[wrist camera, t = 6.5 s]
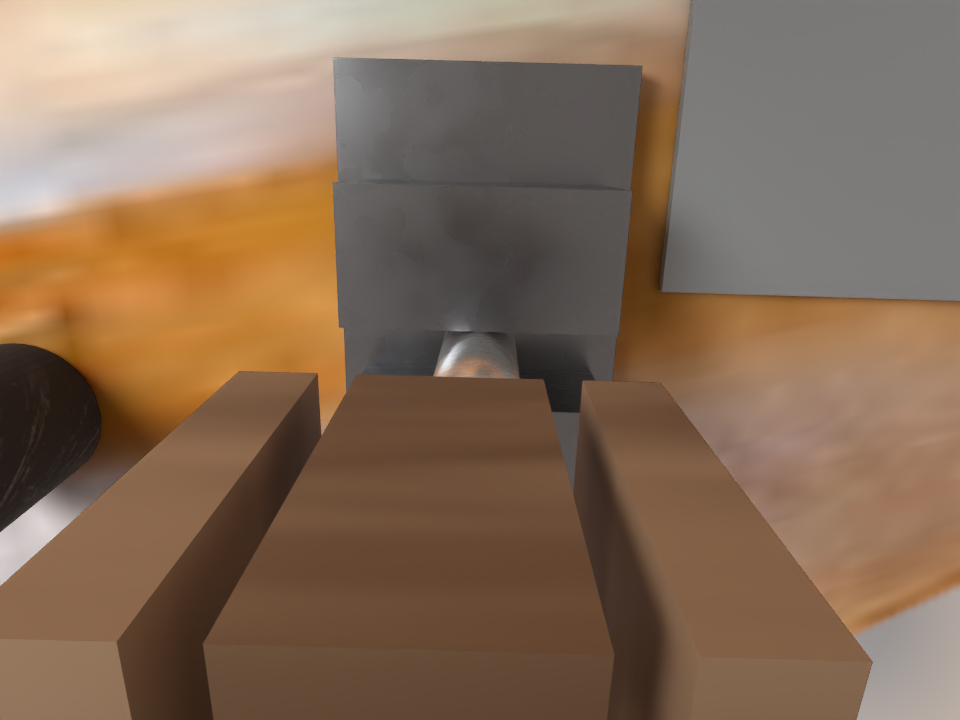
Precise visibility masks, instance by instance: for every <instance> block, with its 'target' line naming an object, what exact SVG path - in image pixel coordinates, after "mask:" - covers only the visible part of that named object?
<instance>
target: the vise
mask: <svg viewBox="0 0 960 720" xmlns="http://www.w3.org/2000/svg"><path fill="white" fill-rule="evenodd" d="M333 65H334V90H335V115H336V140H337V165H338V182H333V198H334V221H335V245H336V269H337V292H338V316H339V327H341V328H344V341H345V366H346V391H347V390H348V389H349V387H350V385H351V383H352V382H353V380H354V378H355V376H356V375H357V374H363V375H400V376H436V377H473V378H510V379H543V380H544V383H545V387H546V391H547V395H548V399H549V403H550V407H551V411H552V415H553V418H554V422H555V426H556V430H557V434H558V438H559V442H560V446H561V450H562V453H563V457H564V461H565V465H566V469H567V473H568V477H569V481H570V485H571V488H572V492H573V489H574V477H575V465H576V453H577V441H578V429H579V417H580V405H581V393H582V381H612V379H613V369H614V358H615V348H616V337H617V336H619V326H620V316H621V305H622V295H623V285H624V274H625V264H626V254H627V243H628V233H629V222H630V212H631V202H632V191H631V181H632V170H633V160H634V149H635V139H636V128H637V118H638V108H639V97H640V87H641V76H642V66H633V65H595V64H557V63H520V62H482V61H444V60H406V59H369V58H333Z"/></svg>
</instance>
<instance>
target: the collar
mask: <svg viewBox="0 0 960 720" xmlns="http://www.w3.org/2000/svg"><path fill="white" fill-rule="evenodd" d="M872 663H873V662H872V660H871V659H870V658H869V656H868V655H867V654H866V653H865V651H864V650H863V648H862V647H861V646H860V644H859V643H858V642H857V640H856V639H855V638H854V637H853V635H852V634H851V633H850V631H849V630H848V629H847V627H846V626H845V625H844V623H843V622H842V621H841V619H840V618H839V617H838V615H837V614H836V613H835V612H834V610H833V609H832V608H831V606H830V605H829V604H828V602H827V601H826V600H825V598H824V597H823V596H822V594H821V593H820V592H819V590H818V589H817V588H816V586H815V585H814V584H813V583H812V581H811V580H810V579H809V577H808V576H807V575H806V573H805V572H804V571H803V569H802V568H801V567H800V565H799V564H798V563H797V561H796V560H795V559H794V557H793V556H792V555H791V554H790V552H789V551H788V550H787V548H786V547H785V546H784V544H783V543H782V542H781V540H780V539H779V538H778V536H777V535H776V534H775V532H774V531H773V530H772V528H771V527H770V526H769V525H768V523H767V522H766V521H765V519H764V518H763V517H762V515H761V514H760V513H759V511H758V510H757V509H756V507H755V506H754V505H753V503H752V502H751V501H750V499H749V498H748V497H747V496H746V494H745V493H744V492H743V490H742V489H741V488H740V486H739V485H738V484H737V482H736V481H735V480H734V478H733V477H732V476H731V474H730V473H729V472H728V470H727V469H726V468H725V467H724V465H723V464H722V463H721V461H720V460H719V459H718V457H717V456H716V455H715V453H714V452H713V451H712V449H711V448H710V447H709V445H708V444H707V443H706V441H705V440H704V439H703V438H702V436H701V435H700V434H699V432H698V431H697V430H696V428H695V427H694V426H693V424H692V423H691V422H690V420H689V419H688V418H687V416H686V415H685V414H684V413H683V411H682V410H681V409H680V407H679V406H678V405H677V403H676V402H675V401H674V399H673V398H672V397H671V395H670V394H669V393H668V391H667V390H666V389H665V387H664V386H663V385H662V384H661V383H657V382H620V381H582V393H581V405H580V417H579V429H578V441H577V453H576V465H575V477H574V489H573V492H572V488H571V485H570V481H569V477H568V473H567V469H566V465H565V461H564V457H563V453H562V450H561V446H560V442H559V438H558V434H557V430H556V426H555V422H554V418H553V415H552V411H551V407H550V403H549V399H548V395H547V391H546V387H545V383H544V380H543V379H510V378H473V377H436V376H400V375H363V374H357V375H356V376H355V378H354V380H353V382H352V383H351V385H350V387H349V389H348V390H347V392H346V394H345V396H344V397H343V399H342V401H341V403H340V404H339V406H338V408H337V410H336V412H335V413H334V415H333V417H332V419H331V420H330V422H329V424H328V426H327V427H326V429H325V431H324V433H323V434H322V436H321V424H320V407H319V390H318V373H289V372H253V371H239V372H238V373H236V374H235V375H234V376H233V377H232V378H231V379H230V380H229V381H228V382H226V383H225V384H224V385H223V386H222V387H221V388H220V389H219V390H218V391H216V392H215V393H214V394H213V395H212V396H211V397H210V398H209V399H208V400H206V401H205V402H204V403H203V404H202V405H201V406H200V407H199V408H198V409H196V410H195V411H194V412H193V413H192V414H191V415H190V416H189V417H188V418H187V419H185V420H184V421H183V422H182V423H181V424H180V425H179V426H178V427H177V428H175V429H174V430H173V431H172V432H171V433H170V434H169V435H168V436H167V437H165V438H164V439H163V440H162V441H161V442H160V443H159V444H158V445H157V446H155V447H154V448H153V449H152V450H151V451H150V452H149V453H148V454H147V455H145V456H144V457H143V458H142V459H141V460H140V461H139V462H138V463H137V464H135V465H134V466H133V467H132V468H131V469H130V470H129V471H128V472H127V473H125V474H124V475H123V476H122V477H121V478H120V479H119V480H118V481H117V482H115V483H114V484H113V485H112V486H111V487H110V488H109V489H108V490H107V491H105V492H104V493H103V494H102V495H101V496H100V497H99V498H98V499H97V500H95V501H94V502H93V503H92V504H91V505H90V506H89V507H88V508H87V509H85V510H84V511H83V512H82V513H81V514H80V515H79V516H78V517H77V518H75V519H74V520H73V521H72V522H71V523H70V524H69V525H68V526H67V527H65V528H64V529H63V530H62V531H61V532H60V533H59V534H58V535H57V536H55V537H54V538H53V539H52V540H51V541H50V542H49V543H48V544H47V545H45V546H44V547H43V548H42V549H41V550H40V551H39V552H38V553H37V554H35V555H34V556H33V557H32V558H31V559H30V560H29V561H28V562H27V563H25V564H24V565H23V566H22V567H21V568H20V569H19V570H18V571H17V572H15V573H14V574H13V575H12V576H11V577H10V578H9V579H8V580H7V581H6V582H4V583H3V584H2V585H1V586H0V720H856V719H857V716H858V712H859V708H860V705H861V701H862V698H863V694H864V691H865V687H866V684H867V680H868V677H869V673H870V669H871V666H872Z"/></svg>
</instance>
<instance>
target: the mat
mask: <svg viewBox="0 0 960 720" xmlns="http://www.w3.org/2000/svg"><path fill="white" fill-rule="evenodd" d="M658 289H659V290H660V291H661V292H679V293H712V294H746V295H779V296H813V297H846V298H880V299H913V300H946V301H960V0H691V7H690V16H689V25H688V33H687V42H686V51H685V60H684V69H683V77H682V86H681V95H680V104H679V113H678V121H677V130H676V139H675V148H674V157H673V165H672V174H671V183H670V192H669V200H668V209H667V218H666V227H665V236H664V244H663V253H662V262H661V271H660V280H659V288H658Z"/></svg>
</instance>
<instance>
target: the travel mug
mask: <svg viewBox="0 0 960 720" xmlns="http://www.w3.org/2000/svg"><path fill="white" fill-rule="evenodd" d="M100 431H101V417H100V411H99V407H98V404H97V401H96V399H95V396H94V394H93V392H92V390H91V389H90V387H89V385H88V384H87V383H86V381H85V380H84V379H83V377H82V376H81V375H80V374H79V373H78V372H77V371H76V370H75V369H74V368H73V367H72V366H71V365H69V364H68V363H67V362H65V361H64V360H63V359H61V358H60V357H58V356H56V355H54V354H53V353H50V352H48V351H46V350H44V349H41V348H38V347H34V346H30V345H25V344H0V532H1V531H2V530H3V529H5V528H6V527H7V526H8V525H10V524H11V523H12V522H13V521H15V520H16V519H17V518H18V517H20V516H21V515H22V514H23V513H25V512H26V511H27V510H28V509H29V508H31V507H32V506H33V505H34V504H36V503H37V502H38V501H39V500H41V499H42V498H43V497H44V496H46V495H47V494H48V493H49V492H51V491H52V490H53V489H54V488H55V487H57V486H58V485H59V484H60V483H62V482H63V481H64V480H65V479H66V478H68V477H69V476H70V475H71V474H72V473H74V472H75V471H76V470H77V469H78V468H79V467H80V466H82V465H83V464H84V463H85V462H86V461H87V460H88V459H89V457H90V456H91V455H92V453H93V451H94V450H95V448H96V446H97V443H98V440H99V437H100Z"/></svg>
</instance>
